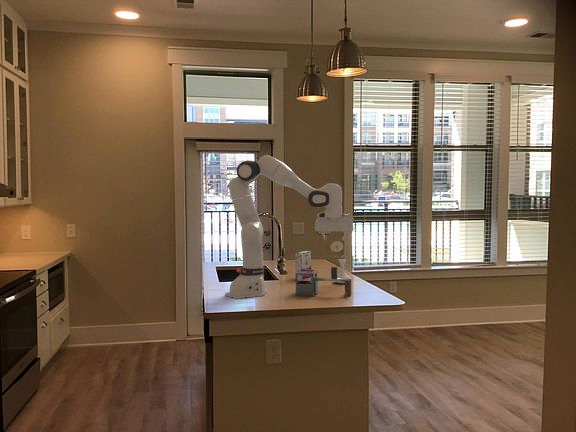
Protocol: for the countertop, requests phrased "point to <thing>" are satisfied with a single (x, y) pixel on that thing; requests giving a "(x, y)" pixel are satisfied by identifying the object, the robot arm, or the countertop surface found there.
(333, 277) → the rod
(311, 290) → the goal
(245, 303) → the countertop surface
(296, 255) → the candy bar box
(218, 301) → the countertop surface
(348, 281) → the rod cradle
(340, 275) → the flower in vase
